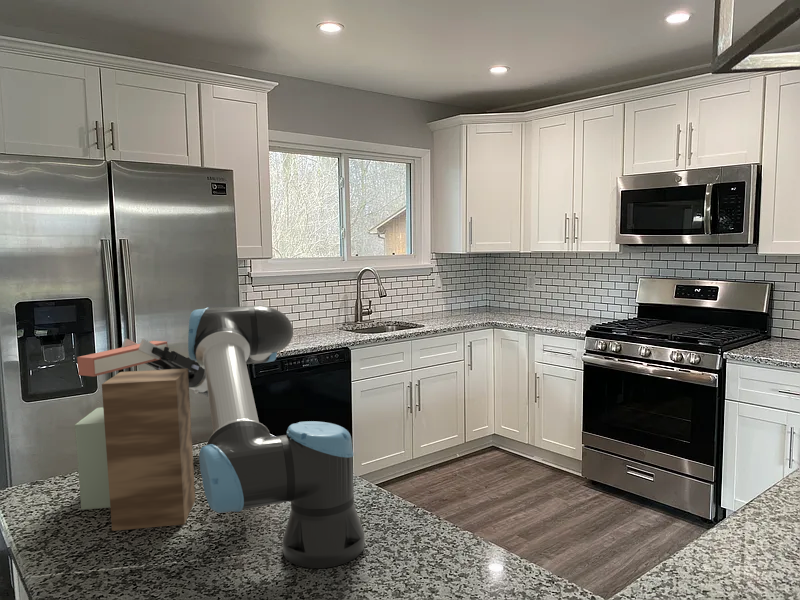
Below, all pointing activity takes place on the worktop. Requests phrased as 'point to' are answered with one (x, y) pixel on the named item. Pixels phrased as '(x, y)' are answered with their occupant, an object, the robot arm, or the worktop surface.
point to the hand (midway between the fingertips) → (132, 344)
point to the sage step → (92, 461)
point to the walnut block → (149, 448)
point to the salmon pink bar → (115, 359)
